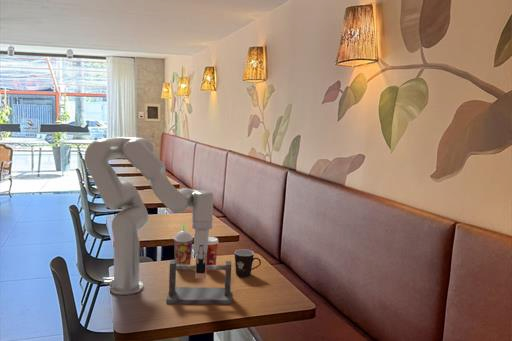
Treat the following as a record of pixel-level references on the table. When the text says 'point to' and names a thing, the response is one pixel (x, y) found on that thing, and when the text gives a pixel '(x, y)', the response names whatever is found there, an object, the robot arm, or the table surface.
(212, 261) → the paper cup
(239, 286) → the table surface
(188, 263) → the smoothie
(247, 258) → the coffee mug
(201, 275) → the open topped box
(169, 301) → the rack
